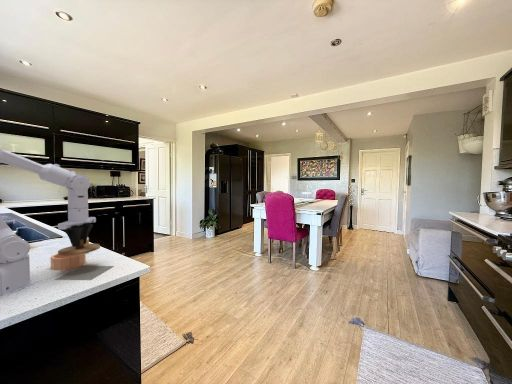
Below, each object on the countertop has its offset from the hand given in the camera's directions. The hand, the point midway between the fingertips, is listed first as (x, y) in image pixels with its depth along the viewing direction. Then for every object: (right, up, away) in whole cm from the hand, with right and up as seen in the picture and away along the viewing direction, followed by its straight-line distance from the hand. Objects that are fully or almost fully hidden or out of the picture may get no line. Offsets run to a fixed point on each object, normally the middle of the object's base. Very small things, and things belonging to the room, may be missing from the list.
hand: (79, 245), depth 82 cm
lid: (0, -2, 0) cm, 2 cm away
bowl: (-8, -9, +5) cm, 13 cm away
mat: (+4, -10, -2) cm, 11 cm away
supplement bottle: (-14, -9, +19) cm, 25 cm away
